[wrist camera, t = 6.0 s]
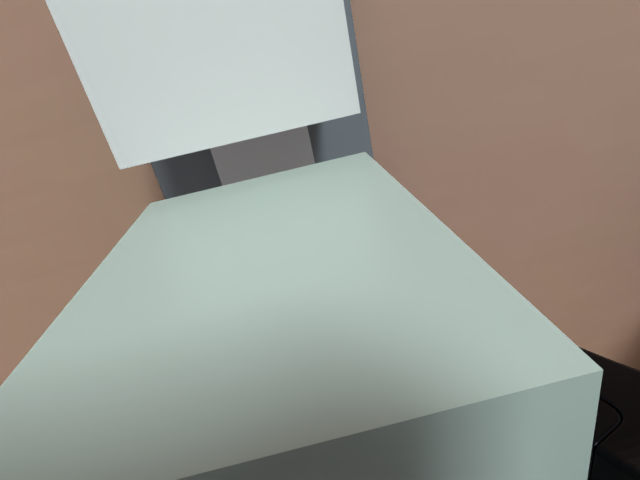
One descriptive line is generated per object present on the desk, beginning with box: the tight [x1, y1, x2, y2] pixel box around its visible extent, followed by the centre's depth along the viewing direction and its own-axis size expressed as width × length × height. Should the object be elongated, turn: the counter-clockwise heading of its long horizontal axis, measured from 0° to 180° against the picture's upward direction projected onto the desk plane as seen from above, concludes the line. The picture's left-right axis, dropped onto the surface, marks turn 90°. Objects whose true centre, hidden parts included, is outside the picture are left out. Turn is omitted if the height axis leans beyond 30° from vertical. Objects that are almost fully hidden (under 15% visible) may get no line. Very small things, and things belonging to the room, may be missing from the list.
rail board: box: [45, 0, 373, 199], centre depth 13 cm, size 19×8×7 cm, turn 12°
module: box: [0, 152, 603, 480], centre depth 7 cm, size 6×5×7 cm
